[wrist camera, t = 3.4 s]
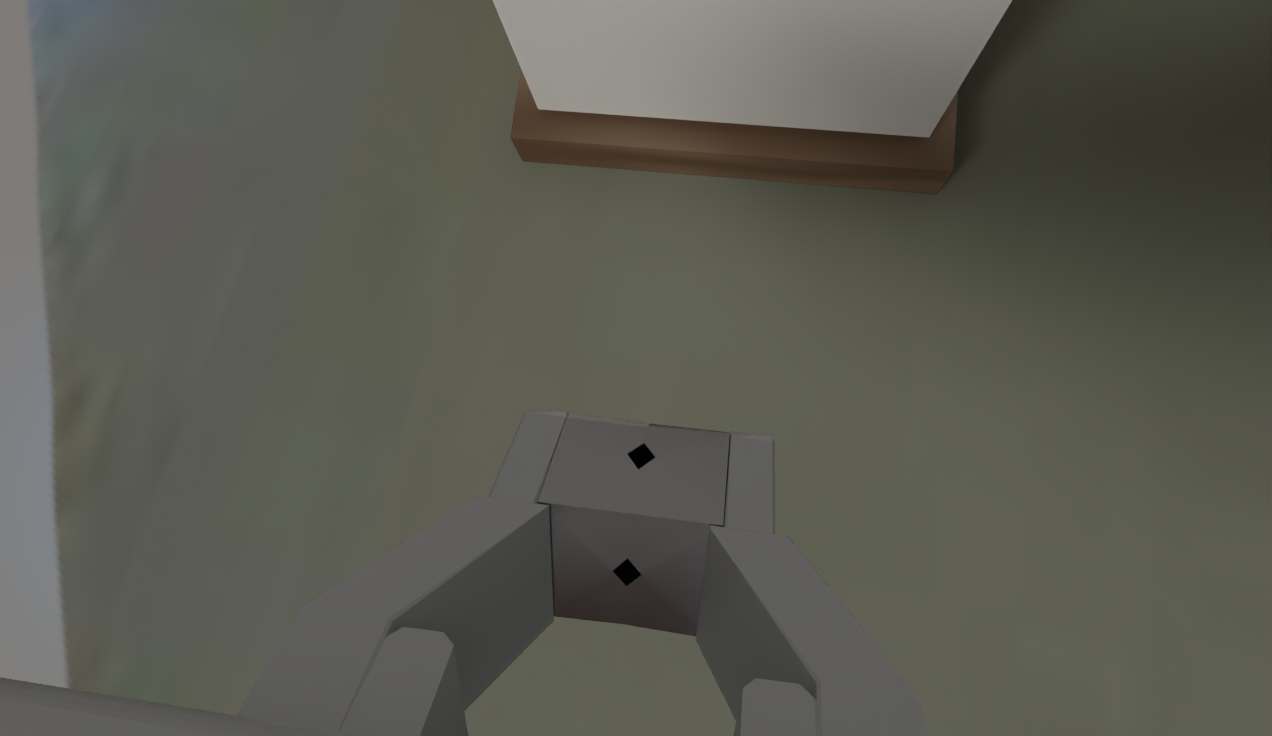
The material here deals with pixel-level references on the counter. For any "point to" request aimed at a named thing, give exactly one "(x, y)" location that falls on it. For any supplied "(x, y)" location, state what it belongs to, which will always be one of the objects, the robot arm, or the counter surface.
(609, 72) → the white flat panel
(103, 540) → the counter surface
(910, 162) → the bar
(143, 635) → the counter surface
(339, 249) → the counter surface
